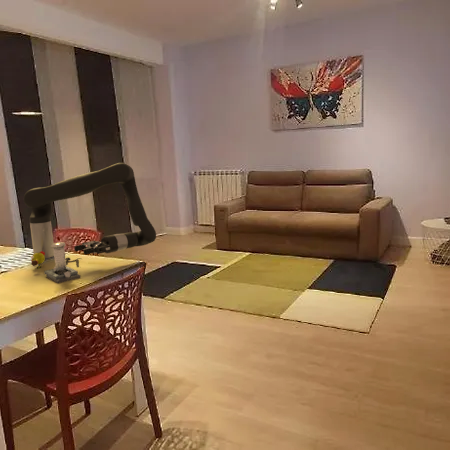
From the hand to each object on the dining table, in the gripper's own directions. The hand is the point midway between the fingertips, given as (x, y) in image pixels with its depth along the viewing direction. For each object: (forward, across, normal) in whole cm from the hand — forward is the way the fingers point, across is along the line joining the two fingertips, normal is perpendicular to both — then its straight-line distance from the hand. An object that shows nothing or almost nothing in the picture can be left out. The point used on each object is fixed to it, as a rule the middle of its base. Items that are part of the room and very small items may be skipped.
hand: (79, 250), depth 168 cm
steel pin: (+8, 0, +10) cm, 13 cm away
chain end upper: (+8, 0, +10) cm, 12 cm away
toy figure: (+9, -22, +10) cm, 26 cm away
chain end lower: (+8, 0, +10) cm, 12 cm away
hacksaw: (-4, -13, +10) cm, 17 cm away
